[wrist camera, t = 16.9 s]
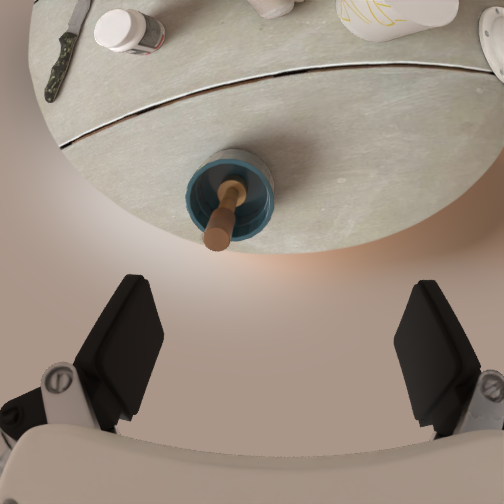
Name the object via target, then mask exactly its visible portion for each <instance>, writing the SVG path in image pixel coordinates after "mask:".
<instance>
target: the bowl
mask: <svg viewBox="0 0 504 504" xmlns="http://www.w3.org/2000/svg"><path fill="white" fill-rule="evenodd" d="M229 175H239V176H241V177H242V178H244V179H245V181H246V182H247V185H248V191H247V195H246V199H245V201H244V202H243V203H242V204H241V205H240V206H237V207H236V208H235V211H234V215H235V224H234V228H233V232H232V236H231V240H230V241H241V240H245V239H248V238H251V237H253V236H254V235H256V234H257V233H259V232H261V231H262V230H263V228H264V227H265V226H266V225H267V224H268V222H269V221H270V219H271V216H272V213H273V210H274V180H273V177H272V174H271V171H270V169H269V168H268V167H267V165H266V164H265V163H264V161H263V160H262V159H260V158H259V157H257V156H256V155H255V154H253V153H251V152H248V151H245V150H241V149H227V150H223V151H220V152H217V153H215V154H213V155H212V156H211V157H209V158H208V159H207V160H206V161H205V162H204V163H203V164H202V165H201V166H200V167H199V169H198V170H197V171H196V172H195V174H194V175H193V177H192V178H191V180H190V181H189V183H188V186H187V191H186V195H185V196H186V197H185V198H186V207H187V211H188V213H189V215H190V217H191V219H192V221H193V222H194V224H195V225H196V226H197V227H198V228H199V229H200V230H201V231H202V232H204V231H205V229H206V226H207V224H208V222H209V220H210V217H211V215H212V213H213V211H214V210H216V209H217V208H218V207H219V204H220V200H219V198H218V195H217V191H218V188H219V186H220V184H221V182H222V180H223V179H224V178H225V177H227V176H229Z"/></svg>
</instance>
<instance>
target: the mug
mask: <svg viewBox="0 0 504 504" xmlns="http://www.w3.org/2000/svg"><path fill="white" fill-rule="evenodd" d="M247 1H248V2H249V3H250V4H251V5H252V6H253V7H254V9H255V10H256V12H257V13H258V14H259V16H260V17H263V18H266V19H274V18H278V17H281V16H284V15H285V14H287V13H289V12H291V11H292V9H293V7H294V2H303V1H304V0H247Z"/></svg>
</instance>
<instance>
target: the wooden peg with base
mask: <svg viewBox="0 0 504 504" xmlns="http://www.w3.org/2000/svg"><path fill="white" fill-rule="evenodd" d="M247 191H248V185H247V182H246V181H245V179H244V178H242V177H241V176H239V175H229V176H227V177H225V178H224V179H223V180H222V182H221V184H220V186H219V188H218V191H217V195H218V198H219V200H220V204H219V207H218V208H217V209H216V210H214V211H213V213H212V215H211V217H210V220H209V222H208V224H207V226H206V229H205V231H204V233H203V242H204V244H205V246H206V247H207V248H209V249H210V250H213V251H222V250H224V249H226V248H227V247H228V246H229V244H230V240H231V236H232V232H233V228H234V224H235V215H234V211H235V208H236V207H237V206H240V205H241V204H242V203H243V202H244V201H245V199H246V195H247Z"/></svg>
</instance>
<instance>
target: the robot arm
mask: <svg viewBox="0 0 504 504" xmlns="http://www.w3.org/2000/svg"><path fill="white" fill-rule="evenodd" d="M479 37H480V42H481V46H482V49H483V52H484V55H485V57H486V59H487V61H488V63H489V65H490V67H491V69H492V70H493V72H494V73H495V75H496V76H497V77H498V78H499V79H500V80H501V81H502V82H503V83H504V8H502V7H490V8H487V9H486V10H484V11H483V13H482V14H481V17H480V20H479ZM163 340H164V332H163V328H162V325H161V322H160V319H159V316H158V312H157V309H156V306H155V302H154V299H153V295H152V292H151V288H150V285H149V282H148V280H146V279H144V277H143V276H142V275H132V274H128V275H126V276H125V277H124V279H123V280H122V282H121V283H120V285H119V286H118V288H117V290H116V291H115V293H114V294H113V296H112V297H111V299H110V301H109V302H108V304H107V305H106V307H105V308H104V310H103V312H102V313H101V315H100V317H99V318H98V320H97V322H96V323H95V325H94V327H93V328H92V330H91V332H90V333H89V335H88V337H87V339H86V340H85V342H84V344H83V346H82V347H81V349H80V351H79V353H78V354H77V356H76V358H75V361H74V363H73V365H72V364H70V363H67V362H59V363H55V364H54V365H52V366H50V367H49V368H48V369H47V370H46V371H45V372H44V374H43V376H42V379H41V387H39V388H36V389H34V390H32V391H30V392H28V393H26V394H23V395H21V396H19V397H17V398H14V399H12V400H10V401H8V402H7V403H5V404H4V405H3V407H2V408H1V410H0V504H504V376H503V375H502V374H501V373H499V372H498V371H495V370H486V371H484V372H482V373H481V370H480V368H481V365H480V363H479V360H478V358H477V356H476V354H475V352H474V350H473V348H472V346H471V344H470V342H469V340H468V338H467V336H466V334H465V332H464V330H463V328H462V326H461V324H460V323H459V321H458V319H457V317H456V315H455V314H454V312H453V310H452V308H451V306H450V304H449V303H448V301H447V299H446V298H445V296H444V294H443V292H442V291H441V289H440V288H439V286H438V284H437V283H436V282H435V280H420V281H419V282H418V284H416V285H414V287H413V289H412V292H411V295H410V298H409V301H408V304H407V306H406V309H405V311H404V314H403V317H402V319H401V322H400V324H399V327H398V329H397V332H396V334H395V337H394V346H395V350H396V353H397V356H398V359H399V362H400V366H401V369H402V373H403V376H404V380H405V383H406V386H407V390H408V394H409V398H410V402H411V405H412V410H413V414H414V417H415V419H416V420H419V424H420V427H424V426H428V425H433V427H434V432H433V434H432V436H431V438H430V440H429V441H428V442H423V443H419V444H413V445H408V446H403V447H397V448H392V449H386V450H379V451H372V452H364V453H355V454H345V455H333V456H316V457H315V456H314V457H262V456H243V455H231V454H220V453H212V452H203V451H196V450H189V449H183V448H177V447H172V446H166V445H161V444H156V443H152V442H147V441H142V440H137V439H133V438H128V437H125V436H121V434H120V432H119V430H118V428H117V423H118V420H119V419H122V420H127V421H131V419H132V417H133V415H136V414H137V413H138V411H139V408H140V405H141V401H142V399H143V396H144V393H145V390H146V387H147V384H148V382H149V379H150V376H151V373H152V370H153V368H154V365H155V362H156V359H157V357H158V354H159V351H160V348H161V346H162V343H163Z"/></svg>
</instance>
